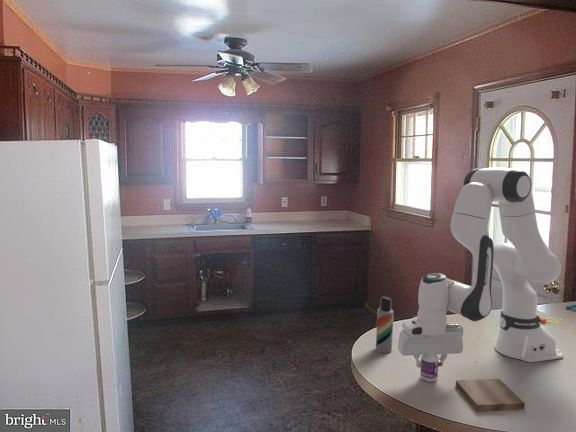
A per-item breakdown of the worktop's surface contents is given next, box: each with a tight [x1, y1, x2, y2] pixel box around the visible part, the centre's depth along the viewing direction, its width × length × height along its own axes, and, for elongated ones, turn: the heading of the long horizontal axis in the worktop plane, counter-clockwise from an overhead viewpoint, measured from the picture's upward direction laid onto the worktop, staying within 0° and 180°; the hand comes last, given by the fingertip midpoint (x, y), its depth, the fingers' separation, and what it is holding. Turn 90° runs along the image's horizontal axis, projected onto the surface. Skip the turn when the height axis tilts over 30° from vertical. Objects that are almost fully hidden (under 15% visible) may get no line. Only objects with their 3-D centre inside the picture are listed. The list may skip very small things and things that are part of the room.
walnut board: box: [455, 378, 526, 413], centre depth 142 cm, size 14×14×2 cm
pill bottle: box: [419, 352, 439, 382], centre depth 152 cm, size 5×5×10 cm
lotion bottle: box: [375, 296, 394, 354], centre depth 172 cm, size 6×6×20 cm
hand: (429, 366), depth 152 cm, fingers closed on pill bottle, 5 cm apart
